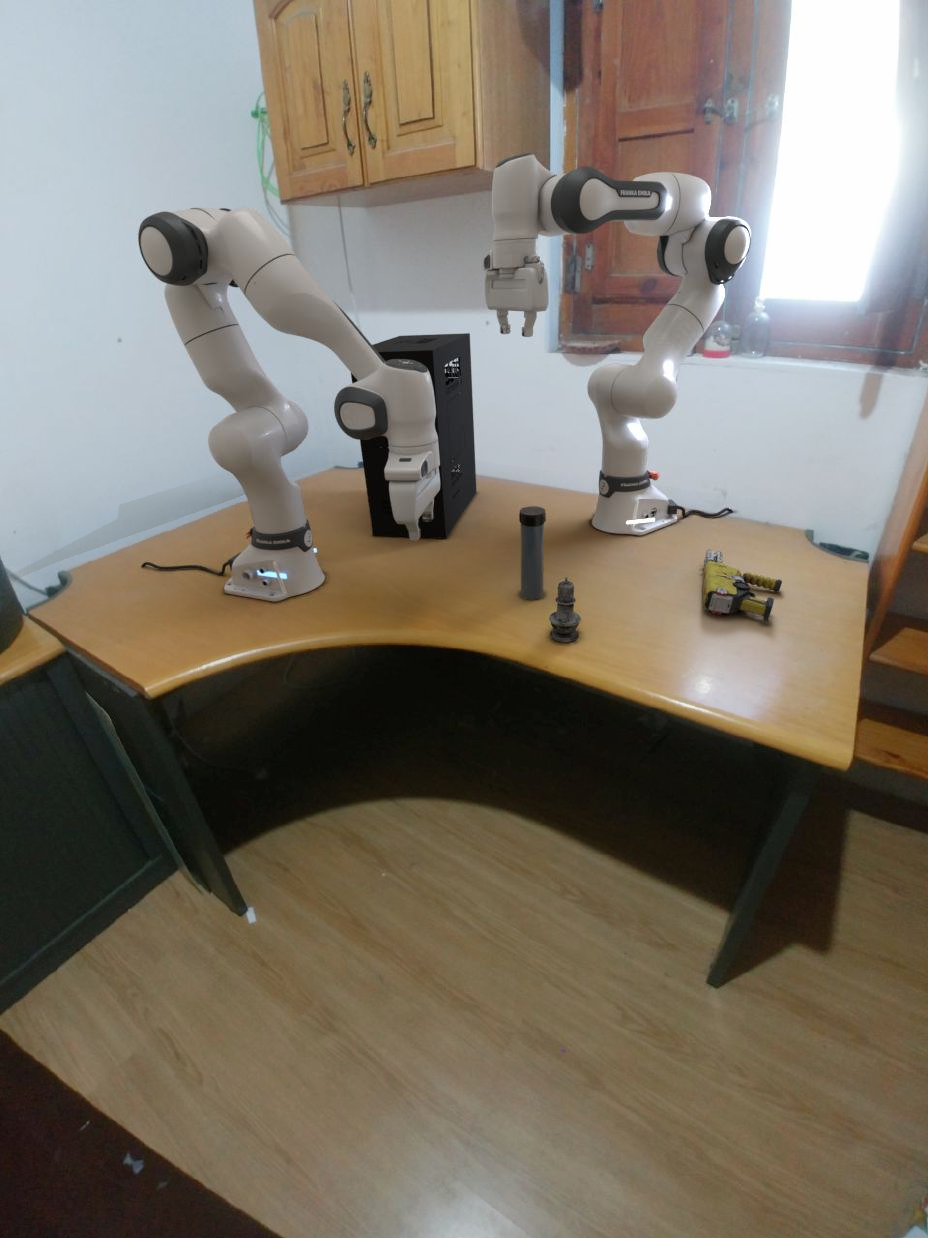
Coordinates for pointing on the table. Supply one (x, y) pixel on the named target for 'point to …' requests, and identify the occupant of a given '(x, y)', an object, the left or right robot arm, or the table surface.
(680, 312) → the right robot arm
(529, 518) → the lid
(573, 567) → the table surface
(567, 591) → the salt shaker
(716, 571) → the toy gun
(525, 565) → the grey cylindrical piece
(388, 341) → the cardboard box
